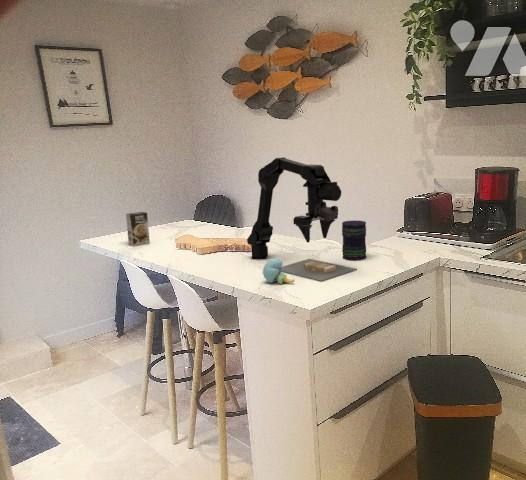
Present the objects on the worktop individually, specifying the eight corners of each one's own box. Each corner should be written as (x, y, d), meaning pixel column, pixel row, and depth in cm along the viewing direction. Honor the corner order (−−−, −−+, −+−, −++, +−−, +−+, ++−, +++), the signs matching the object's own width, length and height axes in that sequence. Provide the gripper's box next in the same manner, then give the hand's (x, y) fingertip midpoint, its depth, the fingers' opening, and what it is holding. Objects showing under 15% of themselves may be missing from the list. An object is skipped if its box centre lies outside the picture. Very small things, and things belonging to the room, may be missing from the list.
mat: (273, 270, 199) (273, 268, 199) (309, 259, 212) (309, 258, 212) (321, 281, 181) (321, 280, 181) (356, 270, 194) (356, 268, 194)
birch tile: (303, 263, 197) (326, 268, 188) (312, 261, 200) (335, 265, 191) (303, 268, 198) (326, 273, 189) (312, 265, 201) (335, 271, 192)
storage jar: (347, 254, 219) (347, 219, 215) (369, 256, 214) (369, 221, 211) (338, 259, 210) (338, 224, 207) (361, 261, 205) (361, 225, 202)
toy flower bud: (290, 264, 175) (260, 259, 180) (290, 289, 177) (259, 283, 182) (299, 259, 181) (269, 254, 186) (298, 283, 183) (269, 277, 189)
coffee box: (133, 246, 255) (130, 214, 252) (128, 244, 260) (125, 213, 257) (150, 243, 261) (147, 212, 257) (144, 241, 266) (141, 211, 262)
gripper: (314, 204, 178) (315, 247, 181) (348, 197, 190) (349, 238, 193) (291, 201, 186) (293, 243, 189) (326, 195, 198) (326, 235, 201)
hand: (316, 240), depth 193 cm, fingers open, 9 cm apart
